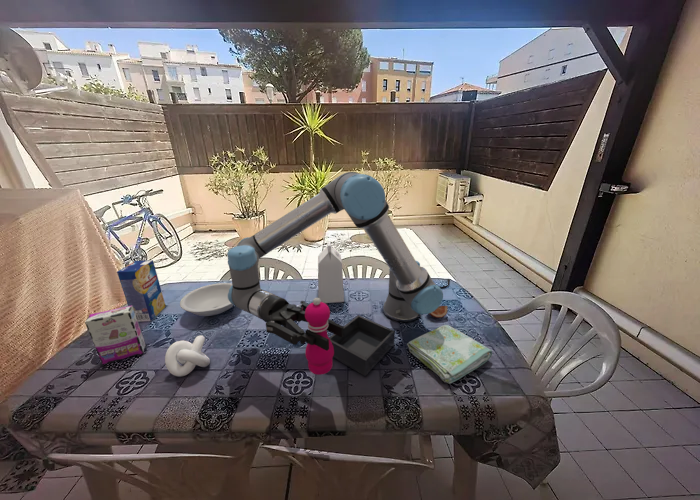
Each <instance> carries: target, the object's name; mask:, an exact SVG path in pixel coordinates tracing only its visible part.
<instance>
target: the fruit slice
mask: <svg viewBox="0 0 700 500" xmlns="http://www.w3.org/2000/svg"><path fill="white" fill-rule="evenodd" d="M448 309H449V307H448V305H440V306H439V307H438V308H437V309H436V310H435V311H433V312H432V313H429V314H428V315H429V316H430V317H432V318H435V319H440V318H443V317H445V316H446V315H447V314H448Z"/></svg>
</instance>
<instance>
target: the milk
mask: <svg viewBox="0 0 700 500" xmlns="http://www.w3.org/2000/svg"><path fill="white" fill-rule="evenodd" d="M317 288H318V289H317V293H318V294H317V298H319V299H320V300H321V302H323V303H325V304H330V303H331V304H332V303H344V302H345V294H344V293H345V292H344V272H343V260H342V256H341V254H340V252H339V251H338V250H337V249H335V248H333V246H332V244H331V241H329V240H328V241H327V246H326V247H325V248H324V249H323V250H322V251H321V252H320V253H319V254H318V256H317Z"/></svg>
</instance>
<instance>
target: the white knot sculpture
mask: <svg viewBox="0 0 700 500" xmlns="http://www.w3.org/2000/svg"><path fill="white" fill-rule="evenodd" d="M205 342H206V338H205V336H204V335H201V334H200V335H197V336H196V337H195V338H194V340H193V342H190V341H188V340H178V341H175V342H173V343H172V344H171V345H170V346H169V347H168V348H167V350H166V353H165V355H164V365H165V367H166V369H167V371H168V372H169V373H170V374H171V375H172V376H175V377H179V378H181V377H185V376H187V375H189V374H190V373H191V372H193V371H194V370H195V367H196V366H197V367H201V368H206V367H208V366H209V365H210V364H211V360H210V359H211V358H210V357H208V355H206V354H205V353H204V352H203V351H202V350H203V347H204V345H205Z"/></svg>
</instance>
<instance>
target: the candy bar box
mask: <svg viewBox="0 0 700 500" xmlns="http://www.w3.org/2000/svg"><path fill="white" fill-rule="evenodd" d="M84 324H85V327H86V329H87V331H88V333H89V337H90V338H91V340H92V343H93V345H94V348H95V350H96V353H97V355H98V358H99V360H100V362H101V364H102V365H106V364H110V363H113V362H117V361H120V360H124V359H128V358H131V357H135V356H139V355H143V354H144V353H145V350H146V346H147V344H146V341H145V338H144V336H143V333H142V330H141V326H140V324H139V322H138V321H137V318H136V315H135V312H134V309H133V306H128V305H127V306H123V307H118V308H114V309H113V308H112V309H109V310H105V311H99V312H94V313H90V314H89V315H88V316H87V318H86V320H85V321H84Z"/></svg>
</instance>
